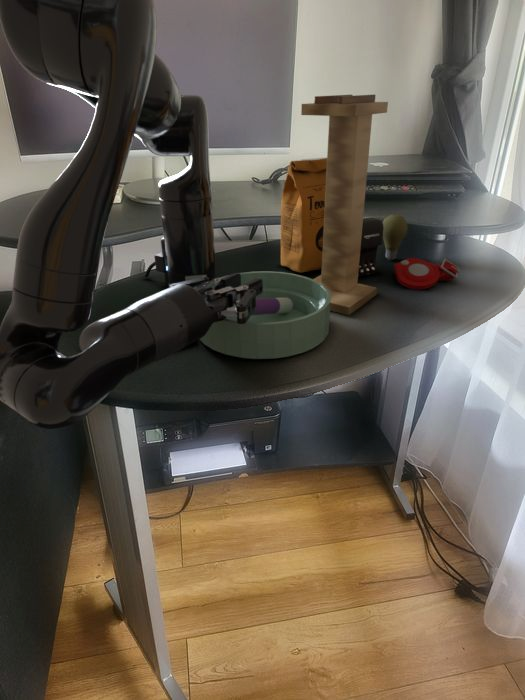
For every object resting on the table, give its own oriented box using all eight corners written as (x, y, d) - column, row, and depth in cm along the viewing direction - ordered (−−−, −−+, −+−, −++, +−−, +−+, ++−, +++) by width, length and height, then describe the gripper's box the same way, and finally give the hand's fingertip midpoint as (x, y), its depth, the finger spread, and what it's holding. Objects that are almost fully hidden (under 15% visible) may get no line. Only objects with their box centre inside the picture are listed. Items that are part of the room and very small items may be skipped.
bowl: (168, 336, 76) (164, 301, 73) (250, 294, 91) (249, 263, 88) (279, 377, 65) (279, 338, 62) (352, 321, 79) (355, 287, 77)
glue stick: (223, 319, 66) (227, 301, 66) (209, 314, 68) (213, 296, 67) (290, 314, 81) (294, 300, 80) (278, 310, 82) (282, 295, 82)
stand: (289, 299, 88) (293, 96, 72) (320, 281, 96) (329, 94, 80) (348, 315, 82) (366, 96, 66) (376, 295, 89) (398, 94, 73)
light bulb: (384, 254, 110) (389, 210, 105) (407, 259, 107) (413, 213, 102) (373, 260, 107) (377, 215, 102) (396, 265, 103) (402, 219, 99)
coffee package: (348, 269, 102) (357, 159, 91) (297, 279, 97) (300, 163, 86) (323, 256, 110) (329, 153, 99) (275, 264, 105) (275, 157, 94)
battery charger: (353, 280, 96) (358, 223, 91) (342, 274, 99) (346, 218, 94) (381, 274, 99) (387, 218, 93) (370, 269, 102) (375, 214, 96)
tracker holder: (416, 288, 89) (383, 261, 95) (413, 306, 92) (381, 278, 98) (467, 264, 92) (431, 239, 98) (463, 282, 95) (428, 257, 101)
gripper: (204, 309, 53) (289, 266, 66) (121, 283, 61) (212, 249, 73) (209, 366, 57) (289, 316, 69) (130, 335, 64) (215, 295, 77)
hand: (249, 282), depth 71 cm, fingers open, 3 cm apart
